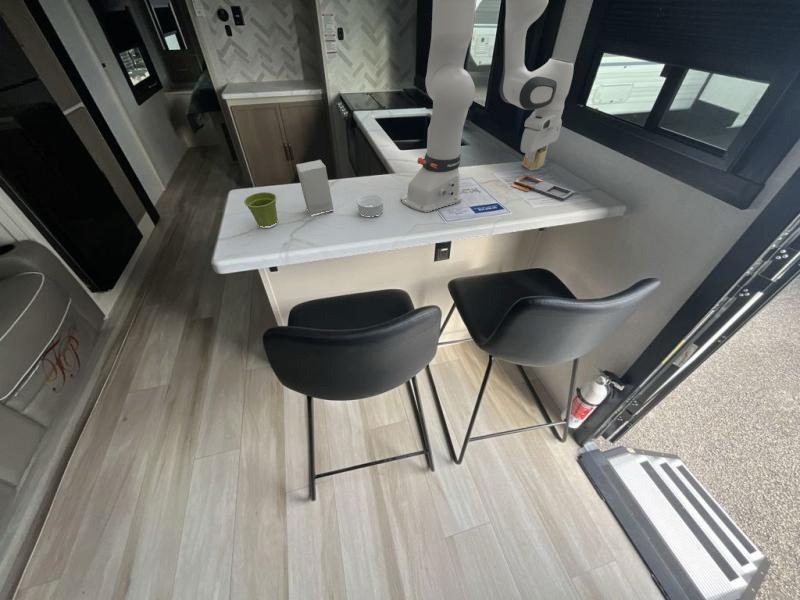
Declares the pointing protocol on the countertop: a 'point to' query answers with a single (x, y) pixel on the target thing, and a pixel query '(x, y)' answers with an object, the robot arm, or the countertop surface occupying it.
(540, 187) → the rail
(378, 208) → the ramekin
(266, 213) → the plant pot
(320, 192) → the skincare box
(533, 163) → the yellow square block
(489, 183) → the countertop surface
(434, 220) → the countertop surface
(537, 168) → the skincare box
